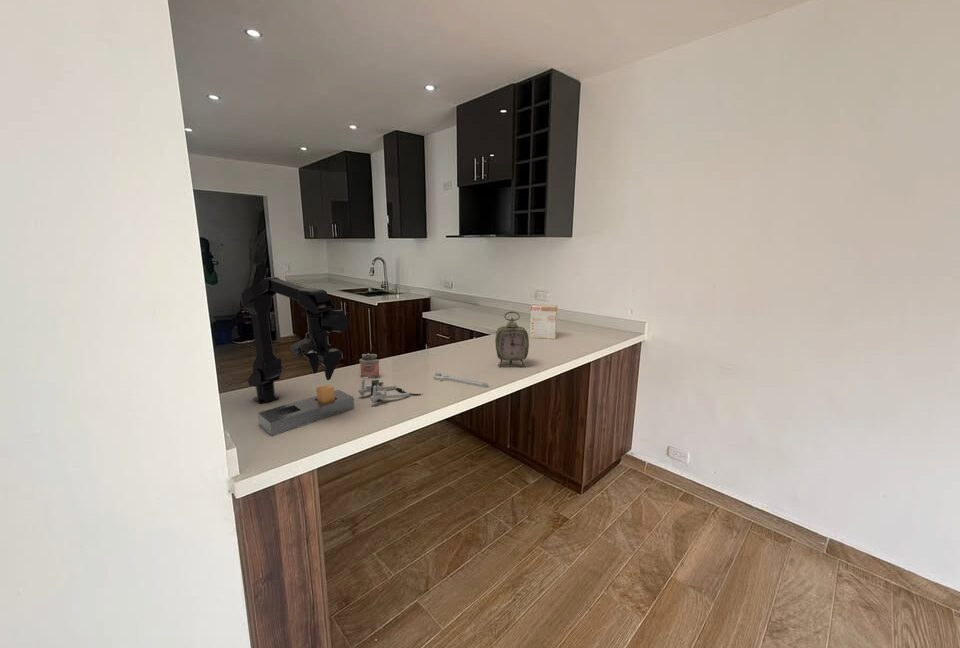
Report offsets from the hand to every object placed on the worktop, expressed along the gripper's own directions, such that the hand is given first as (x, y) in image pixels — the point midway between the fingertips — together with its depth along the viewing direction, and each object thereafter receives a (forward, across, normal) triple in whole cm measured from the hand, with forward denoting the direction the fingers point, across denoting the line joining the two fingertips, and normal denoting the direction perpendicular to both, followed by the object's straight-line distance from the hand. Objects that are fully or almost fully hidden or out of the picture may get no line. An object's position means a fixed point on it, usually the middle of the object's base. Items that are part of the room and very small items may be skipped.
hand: (321, 376), depth 125 cm
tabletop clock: (+12, +15, +82) cm, 84 cm away
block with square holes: (+12, +1, -5) cm, 13 cm away
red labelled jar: (+12, -18, +29) cm, 36 cm away
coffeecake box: (+12, -5, +139) cm, 139 cm away
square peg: (+12, +1, +1) cm, 12 cm away
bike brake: (+12, +5, +22) cm, 26 cm away
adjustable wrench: (+12, +13, +49) cm, 53 cm away
